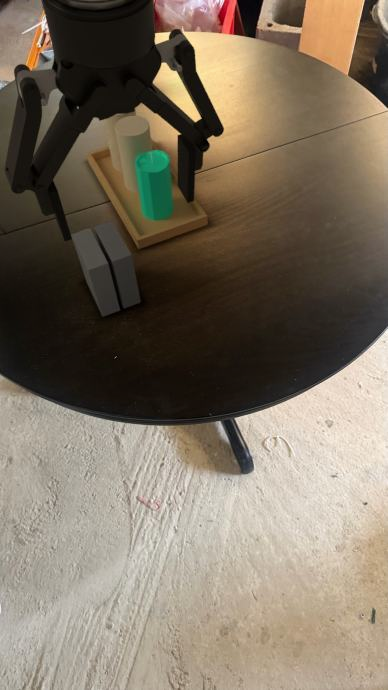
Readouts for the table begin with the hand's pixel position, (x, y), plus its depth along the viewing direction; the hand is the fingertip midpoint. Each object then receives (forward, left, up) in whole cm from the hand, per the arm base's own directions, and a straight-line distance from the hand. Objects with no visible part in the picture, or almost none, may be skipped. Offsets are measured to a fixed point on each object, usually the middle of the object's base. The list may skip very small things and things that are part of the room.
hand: (126, 212), depth 50 cm
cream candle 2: (-36, +13, -26) cm, 46 cm away
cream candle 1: (-43, +13, -26) cm, 51 cm away
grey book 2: (-13, 0, -26) cm, 29 cm away
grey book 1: (-13, -3, -26) cm, 29 cm away
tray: (-34, +13, -26) cm, 45 cm away
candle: (-27, +13, -26) cm, 40 cm away
